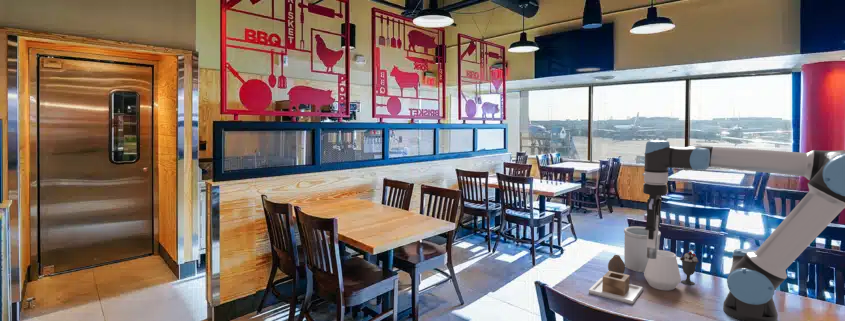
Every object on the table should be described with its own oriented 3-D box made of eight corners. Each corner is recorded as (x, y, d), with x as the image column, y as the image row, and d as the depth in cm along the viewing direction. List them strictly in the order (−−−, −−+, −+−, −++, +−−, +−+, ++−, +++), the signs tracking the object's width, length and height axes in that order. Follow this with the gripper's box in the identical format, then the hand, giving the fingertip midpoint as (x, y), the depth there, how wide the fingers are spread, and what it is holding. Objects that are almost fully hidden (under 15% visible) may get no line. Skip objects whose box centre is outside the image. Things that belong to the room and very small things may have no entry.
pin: (657, 257, 155) (659, 214, 153) (655, 259, 152) (657, 216, 150) (647, 255, 157) (649, 213, 155) (645, 257, 154) (647, 215, 152)
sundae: (701, 284, 174) (703, 249, 172) (690, 287, 171) (692, 251, 170) (686, 278, 180) (688, 245, 178) (675, 281, 177) (677, 247, 176)
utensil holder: (645, 275, 184) (647, 237, 182) (615, 265, 197) (617, 229, 195) (665, 269, 191) (667, 232, 189) (635, 259, 204) (637, 224, 202)
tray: (642, 290, 169) (642, 286, 168) (632, 304, 156) (632, 300, 156) (601, 280, 179) (601, 277, 179) (588, 293, 167) (588, 289, 166)
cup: (636, 283, 176) (637, 251, 174) (656, 277, 182) (658, 246, 180) (667, 295, 164) (669, 261, 162) (687, 288, 170) (689, 255, 169)
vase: (604, 273, 187) (604, 254, 186) (615, 270, 190) (615, 252, 189) (617, 278, 181) (617, 259, 180) (628, 276, 184) (629, 256, 183)
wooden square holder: (629, 289, 168) (629, 275, 167) (623, 296, 162) (624, 281, 161) (608, 284, 173) (608, 270, 172) (602, 291, 167) (602, 276, 166)
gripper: (648, 179, 160) (645, 239, 162) (638, 185, 147) (635, 249, 150) (671, 181, 155) (667, 242, 158) (662, 187, 143) (659, 253, 145)
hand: (652, 245), depth 154 cm, fingers closed on pin, 3 cm apart
